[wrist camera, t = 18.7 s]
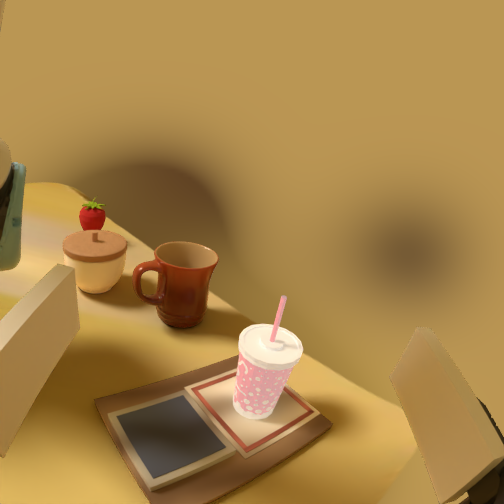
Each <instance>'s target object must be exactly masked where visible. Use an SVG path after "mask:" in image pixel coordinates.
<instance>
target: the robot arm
mask: <svg viewBox="0 0 504 504" xmlns="http://www.w3.org/2000/svg"><path fill="white" fill-rule="evenodd" d="M5 1H6V0H0V30H1V23H2V17H3V12H4V6H5ZM25 176H26V167H25V166H24V165H23V164H19V163H17V162H13V163H11V154H10V150H9V147H8V146H7V144H6V143H5V142H4V141H3V140H2V139H1V138H0V271H5V270H11V269H13V268H15V267H16V266H17V265H18V263H19V261H20V257H21V224H22V207H23V195H24V185H25ZM79 329H80V323H79V314H78V304H77V293H76V279H75V268H73V267H69V266H65V265H61V264H57V265H56V266H55V267H54V268H53V269H52V270H50V271H49V272H48V273H47V274H46V275H45V276H44V277H43V278H42V279H41V280H40V281H39V282H38V283H37V284H36V285H35V286H34V287H33V288H32V289H31V290H30V291H29V292H28V293H27V294H26V295H25V296H24V297H23V298H22V299H21V300H20V301H19V302H18V303H17V304H16V305H15V306H14V307H13V308H12V309H11V310H10V311H9V312H8V313H7V314H6V315H5V316H4V317H3V318H2V319H1V321H0V457H2V458H4V456H5V454H6V452H7V450H8V449H9V447H10V445H11V443H12V441H13V439H14V437H15V435H16V433H17V431H18V429H19V428H20V426H21V424H22V422H23V420H24V418H25V417H26V415H27V413H28V411H29V410H30V408H31V406H32V404H33V403H34V401H35V399H36V397H37V396H38V394H39V392H40V391H41V389H42V387H43V386H44V384H45V382H46V381H47V379H48V377H49V376H50V374H51V372H52V371H53V369H54V368H55V366H56V364H57V363H58V361H59V360H60V358H61V356H62V355H63V353H64V352H65V350H66V349H67V347H68V346H69V344H70V343H71V341H72V340H73V338H74V336H75V335H76V333H77V332H78V330H79ZM389 377H390V380H391V382H392V384H393V387H394V389H395V391H396V394H397V396H398V398H399V401H400V403H401V405H402V408H403V410H404V412H405V415H406V417H407V420H408V422H409V425H410V427H411V429H412V432H413V434H414V437H415V439H416V442H417V445H418V447H419V450H420V452H421V455H422V457H423V460H424V462H425V465H426V468H427V471H428V473H429V476H430V479H431V482H432V484H433V487H434V490H435V493H436V496H437V499H438V502H439V504H445V503H448V502H451V501H454V500H456V499H458V498H459V497H460V496H462V495H463V494H464V493H465V492H467V493H468V495H469V497H467V498H466V499H465V500H464V501H462V502H461V503H459V504H504V437H503V435H502V434H501V432H500V430H499V428H498V426H496V423H495V421H494V419H493V418H491V414H490V413H489V411H488V409H487V408H486V406H485V405H484V404H483V403H482V402H481V401H480V400H479V399H478V398H477V397H476V396H475V394H474V393H473V391H472V389H471V388H470V386H469V385H468V383H467V381H466V380H465V378H464V377H463V375H462V374H461V372H460V371H459V369H458V367H457V366H456V364H455V363H454V362H453V360H452V358H451V357H450V355H449V354H448V352H447V351H446V349H445V348H444V346H443V345H442V343H441V342H440V341H439V339H438V338H437V336H436V335H435V333H434V332H433V331H432V329H431V328H421V327H417V328H416V330H415V332H414V334H413V336H412V338H411V340H410V341H409V343H408V345H407V347H406V349H405V351H404V352H403V354H402V356H401V358H400V359H399V361H398V363H397V365H396V366H395V368H394V370H393V371H392V373H391V375H390V376H389Z"/></svg>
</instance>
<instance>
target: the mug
mask: <svg viewBox="0 0 504 504" xmlns="http://www.w3.org/2000/svg"><path fill="white" fill-rule="evenodd" d="M154 255H155V260H153V261H148V262H144V263H141V264H139V265H138V266H137V267H136V268H135V269H134V271H133V276H132V282H133V288H134V291H135V293H136V295H137V296H138V298H139V299H140V300H141V301H143V302H144V303H147V304H150V305H155V306H156V309H157V314H158V316H159V318H160V319H161V320H162V321H163V322H165V323H166V324H168V325H170V326H173V327H178V328H188V327H192V326H195V325H197V324H199V323H200V322H201V321H202V320H203V317H204V315H205V312H206V309H207V301H208V293H209V283H210V279H211V276H212V273H213V271H214V269H215V267H216V265H217V263H218V261H219V258H218V255H217V254H216V253H215V252H214V251H213V250H211V249H210V248H208V247H205V246H203V245H200V244H196V243H190V242H169V243H165V244H162V245H160V246H159V247H157V248H156V250H155V252H154ZM149 270H153V271H157V272H158V284H157V292H156V293H155V294H153V295H146V294H144V293H142V290H141V275H142V274H143V273H144V272H146V271H149Z"/></svg>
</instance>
